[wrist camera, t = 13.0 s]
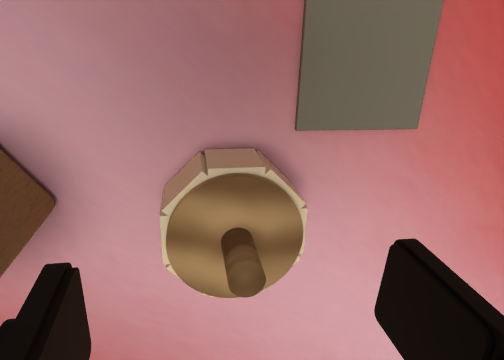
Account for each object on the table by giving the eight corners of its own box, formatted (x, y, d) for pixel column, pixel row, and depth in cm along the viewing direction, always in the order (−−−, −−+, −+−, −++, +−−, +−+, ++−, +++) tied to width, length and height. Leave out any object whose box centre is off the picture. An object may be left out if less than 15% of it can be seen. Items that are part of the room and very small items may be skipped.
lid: (162, 175, 30) (156, 211, 24) (305, 170, 33) (335, 202, 26) (170, 296, 35) (166, 354, 29) (295, 285, 38) (317, 336, 31)
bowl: (160, 150, 36) (156, 170, 30) (293, 147, 38) (311, 165, 33) (168, 266, 41) (165, 301, 35) (285, 257, 43) (299, 288, 38)
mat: (306, -21, 32) (308, -22, 32) (442, -12, 35) (446, -13, 34) (295, 129, 37) (296, 130, 37) (414, 127, 40) (417, 129, 39)
